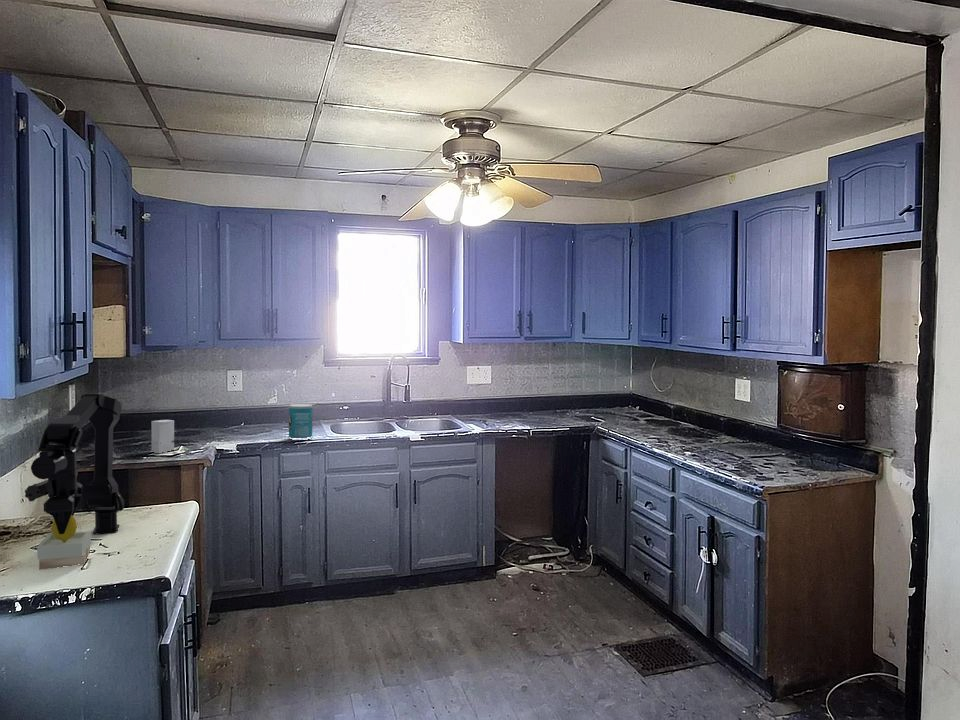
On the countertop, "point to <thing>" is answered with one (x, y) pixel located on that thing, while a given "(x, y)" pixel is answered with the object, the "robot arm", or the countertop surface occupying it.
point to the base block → (63, 561)
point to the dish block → (64, 546)
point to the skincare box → (162, 436)
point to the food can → (300, 420)
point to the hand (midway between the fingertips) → (64, 528)
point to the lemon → (68, 532)
